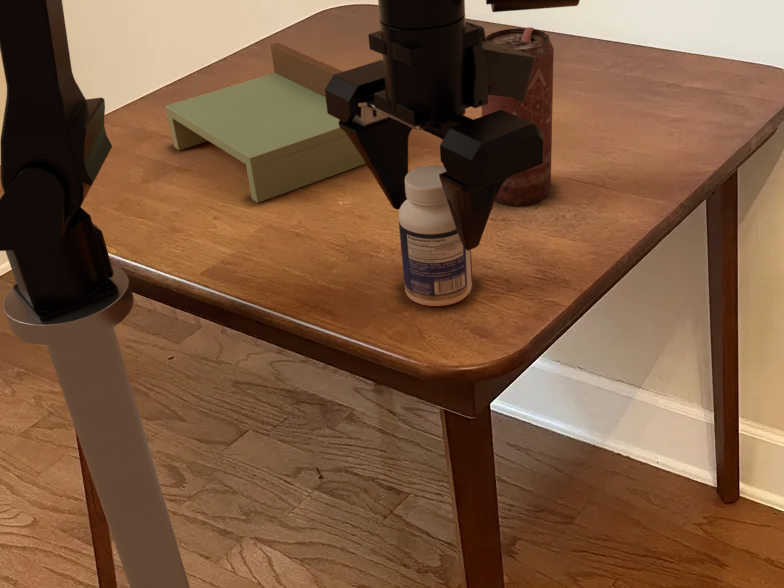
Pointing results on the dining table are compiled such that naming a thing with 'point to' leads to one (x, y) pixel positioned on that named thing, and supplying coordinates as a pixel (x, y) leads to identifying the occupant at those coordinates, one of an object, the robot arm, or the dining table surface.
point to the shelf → (271, 125)
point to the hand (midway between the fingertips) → (434, 227)
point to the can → (528, 112)
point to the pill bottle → (431, 242)
